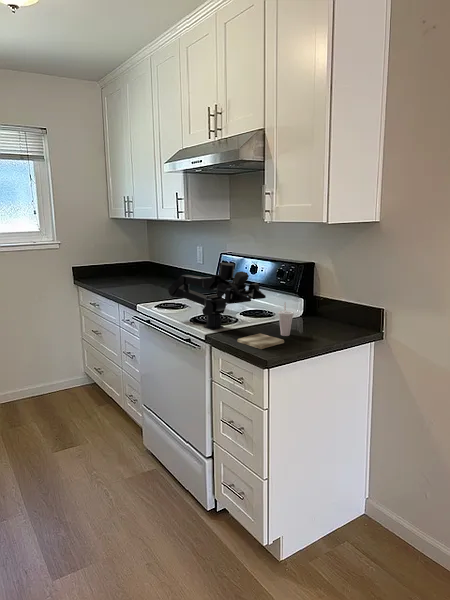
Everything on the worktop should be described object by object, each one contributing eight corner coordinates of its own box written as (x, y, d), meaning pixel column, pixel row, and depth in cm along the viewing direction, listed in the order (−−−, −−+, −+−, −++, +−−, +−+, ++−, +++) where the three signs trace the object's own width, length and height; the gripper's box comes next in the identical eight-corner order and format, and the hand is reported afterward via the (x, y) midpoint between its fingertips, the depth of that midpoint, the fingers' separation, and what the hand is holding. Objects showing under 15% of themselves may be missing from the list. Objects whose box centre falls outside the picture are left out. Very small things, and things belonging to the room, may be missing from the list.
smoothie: (274, 334, 192) (275, 301, 190) (286, 332, 196) (287, 300, 193) (283, 337, 187) (284, 304, 184) (296, 335, 190) (297, 302, 188)
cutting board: (237, 341, 181) (237, 338, 180) (260, 336, 189) (260, 333, 189) (261, 349, 171) (261, 346, 171) (283, 342, 180) (283, 339, 179)
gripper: (216, 272, 184) (245, 281, 174) (246, 268, 197) (275, 276, 187) (213, 298, 187) (242, 309, 177) (243, 293, 200) (271, 302, 190)
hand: (258, 298), depth 183 cm, fingers open, 9 cm apart
